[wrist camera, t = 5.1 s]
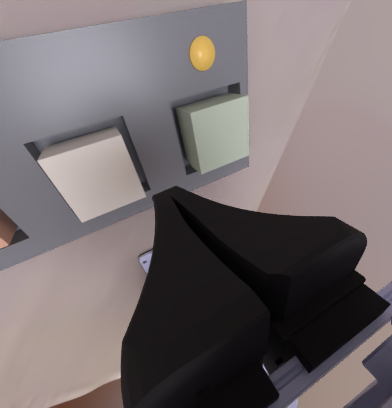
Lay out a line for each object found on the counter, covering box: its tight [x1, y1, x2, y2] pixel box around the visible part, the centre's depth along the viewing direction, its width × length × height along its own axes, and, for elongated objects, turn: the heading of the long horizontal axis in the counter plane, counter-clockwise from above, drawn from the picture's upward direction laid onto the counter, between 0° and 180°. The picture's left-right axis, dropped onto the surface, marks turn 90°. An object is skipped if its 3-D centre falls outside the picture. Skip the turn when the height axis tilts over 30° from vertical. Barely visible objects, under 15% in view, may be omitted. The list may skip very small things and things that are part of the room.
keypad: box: [0, 0, 249, 271], centre depth 15 cm, size 13×28×3 cm, turn 101°
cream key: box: [37, 126, 146, 223], centre depth 15 cm, size 5×5×3 cm
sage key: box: [176, 93, 249, 175], centre depth 17 cm, size 5×5×3 cm
